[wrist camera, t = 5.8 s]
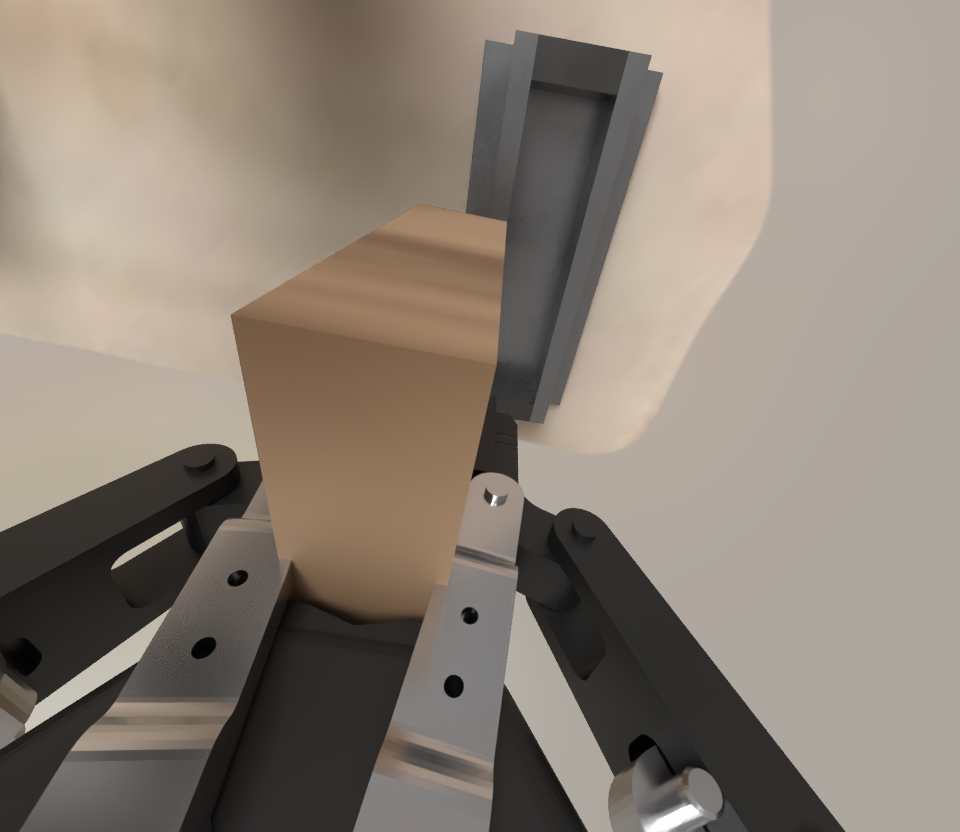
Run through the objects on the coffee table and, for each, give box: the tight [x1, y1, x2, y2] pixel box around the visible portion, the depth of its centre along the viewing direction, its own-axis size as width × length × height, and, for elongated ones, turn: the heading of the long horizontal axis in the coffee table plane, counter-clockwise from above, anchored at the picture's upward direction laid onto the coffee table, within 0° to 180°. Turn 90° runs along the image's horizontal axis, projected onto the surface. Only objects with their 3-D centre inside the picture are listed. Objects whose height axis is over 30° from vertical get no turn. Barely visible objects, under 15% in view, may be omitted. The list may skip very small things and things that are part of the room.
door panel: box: [231, 204, 507, 625], centre depth 10 cm, size 11×2×9 cm, turn 170°
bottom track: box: [466, 30, 663, 424], centre depth 24 cm, size 20×9×4 cm, turn 172°
